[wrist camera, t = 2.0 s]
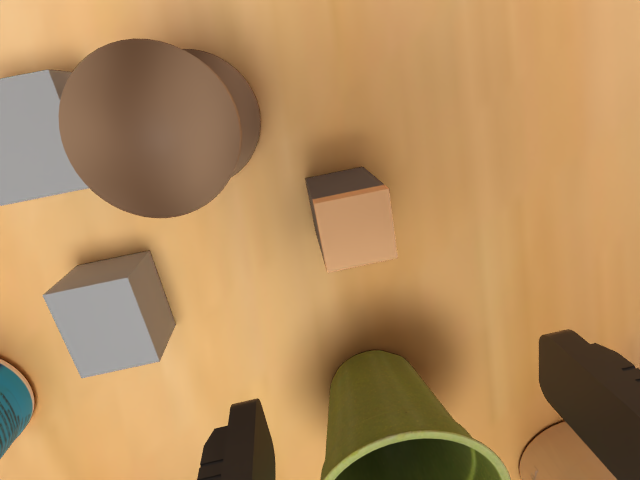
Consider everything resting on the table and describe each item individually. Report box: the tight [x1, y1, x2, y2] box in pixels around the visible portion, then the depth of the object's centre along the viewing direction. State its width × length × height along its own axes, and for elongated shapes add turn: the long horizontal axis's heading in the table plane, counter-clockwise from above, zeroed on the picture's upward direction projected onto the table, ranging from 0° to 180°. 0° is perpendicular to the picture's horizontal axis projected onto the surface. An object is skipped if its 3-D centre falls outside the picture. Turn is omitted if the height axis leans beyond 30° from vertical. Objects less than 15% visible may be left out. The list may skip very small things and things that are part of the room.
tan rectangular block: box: [305, 167, 398, 273], centre depth 25 cm, size 4×4×7 cm
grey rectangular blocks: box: [0, 70, 176, 378], centre depth 25 cm, size 5×18×4 cm, turn 10°
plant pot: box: [321, 350, 511, 480], centre depth 29 cm, size 12×12×11 cm
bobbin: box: [58, 39, 261, 218], centre depth 21 cm, size 8×8×10 cm
